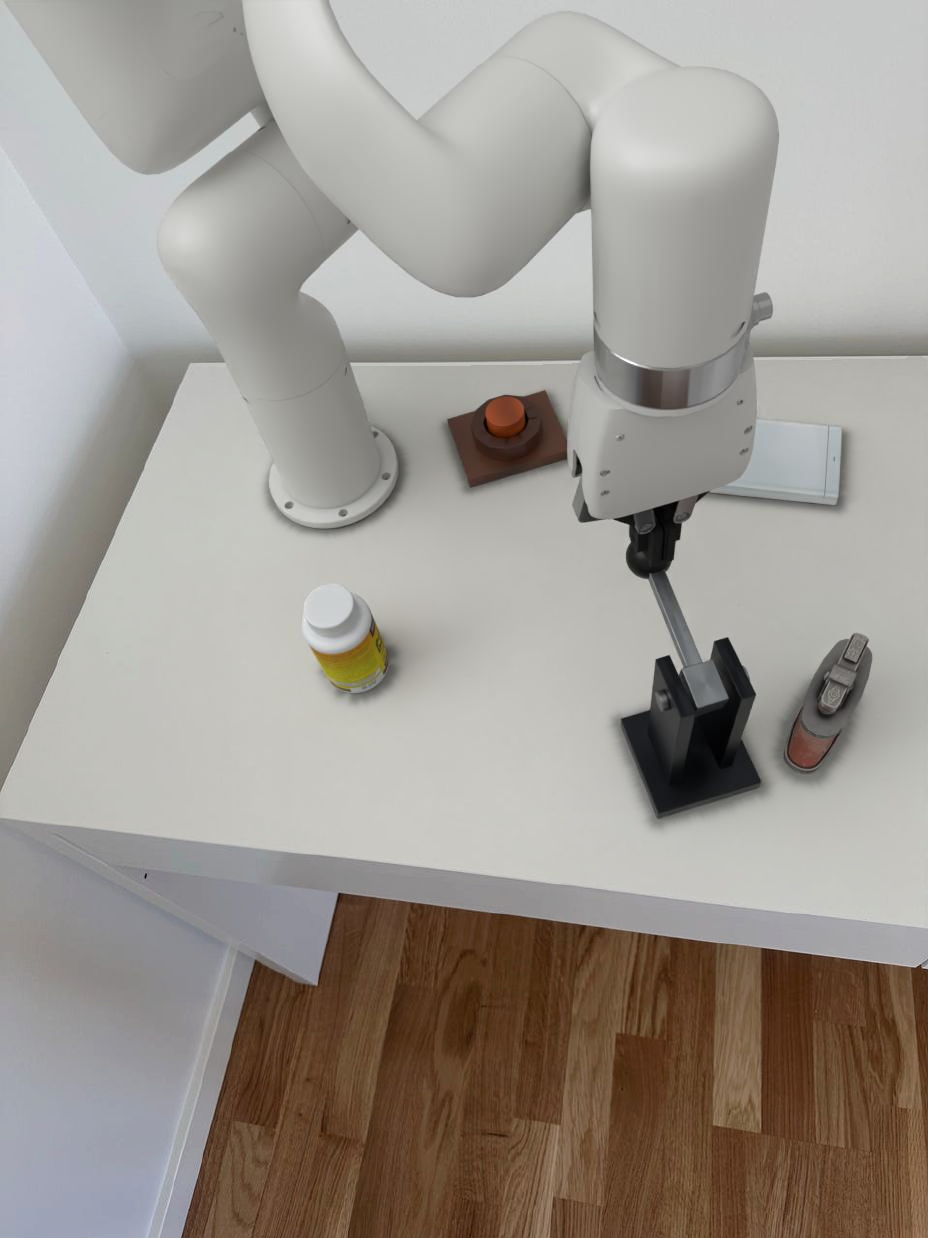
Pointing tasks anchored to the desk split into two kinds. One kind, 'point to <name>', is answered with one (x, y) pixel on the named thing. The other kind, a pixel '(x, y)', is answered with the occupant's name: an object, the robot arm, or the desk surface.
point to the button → (505, 417)
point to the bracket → (693, 739)
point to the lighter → (828, 704)
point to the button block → (508, 441)
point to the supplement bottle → (344, 638)
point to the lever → (681, 638)
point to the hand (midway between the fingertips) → (653, 547)
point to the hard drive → (792, 463)
